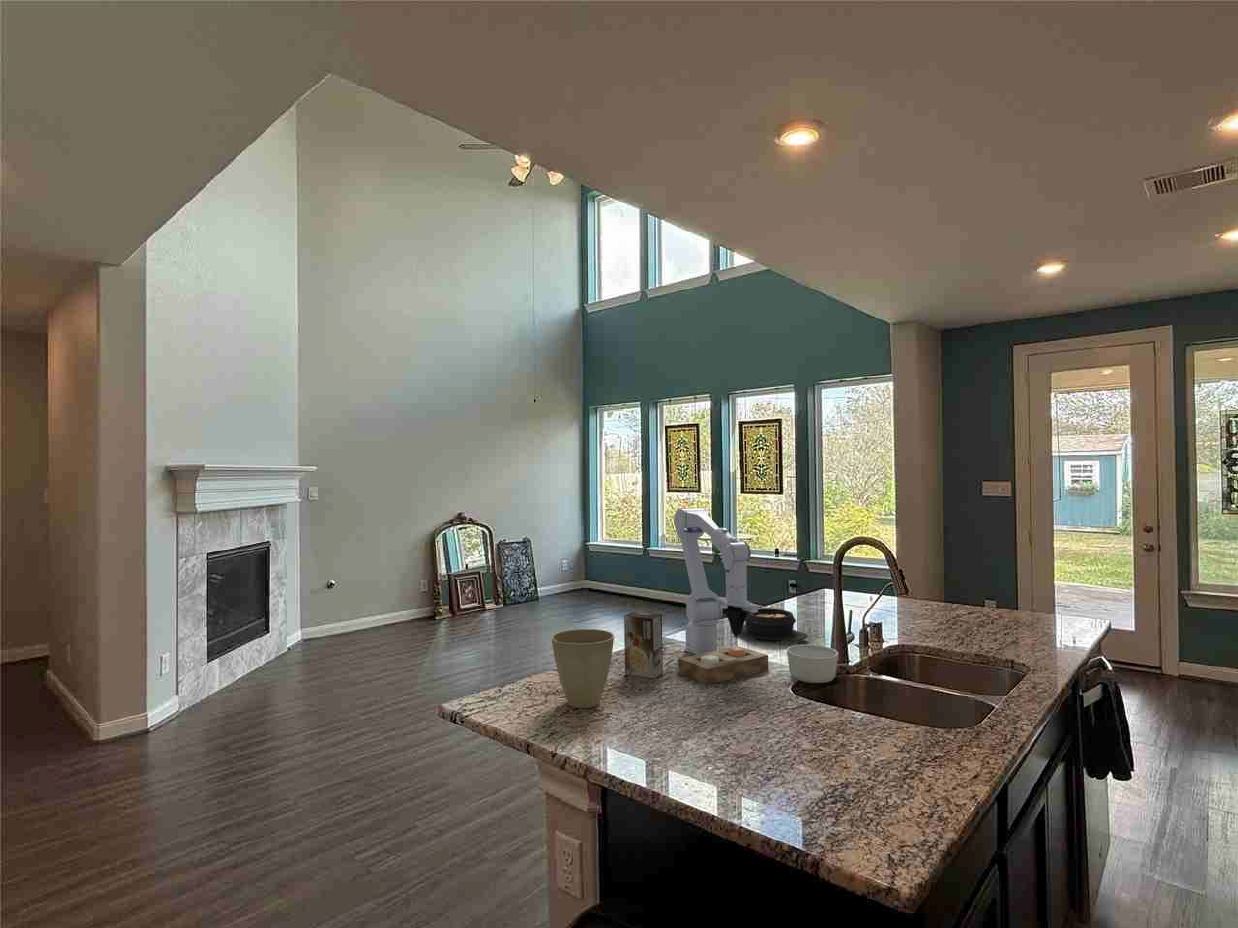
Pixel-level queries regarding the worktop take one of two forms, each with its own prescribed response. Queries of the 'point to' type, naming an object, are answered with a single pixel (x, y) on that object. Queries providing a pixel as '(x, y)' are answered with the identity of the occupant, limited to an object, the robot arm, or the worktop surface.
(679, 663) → the button box
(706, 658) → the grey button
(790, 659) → the ramekin
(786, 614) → the casserole
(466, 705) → the worktop surface
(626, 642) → the coffee box
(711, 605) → the robot arm
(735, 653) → the terracotta button
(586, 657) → the plant pot
